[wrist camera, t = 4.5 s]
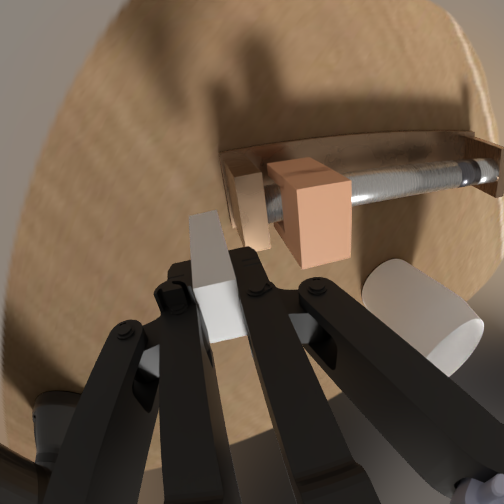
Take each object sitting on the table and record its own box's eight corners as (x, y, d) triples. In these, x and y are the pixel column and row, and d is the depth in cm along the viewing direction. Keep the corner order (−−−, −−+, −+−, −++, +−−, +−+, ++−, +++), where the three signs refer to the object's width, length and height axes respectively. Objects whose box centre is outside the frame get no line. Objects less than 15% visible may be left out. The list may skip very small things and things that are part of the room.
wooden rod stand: (231, 225, 24) (244, 261, 19) (218, 152, 21) (229, 169, 16) (467, 181, 27) (503, 200, 22) (470, 130, 24) (510, 143, 19)
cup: (373, 241, 28) (452, 316, 18) (428, 254, 31) (497, 316, 21) (338, 314, 32) (391, 398, 22) (394, 316, 35) (447, 385, 24)
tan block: (274, 226, 22) (302, 269, 17) (266, 163, 19) (296, 189, 14) (313, 218, 22) (350, 257, 17) (309, 156, 20) (351, 180, 15)
